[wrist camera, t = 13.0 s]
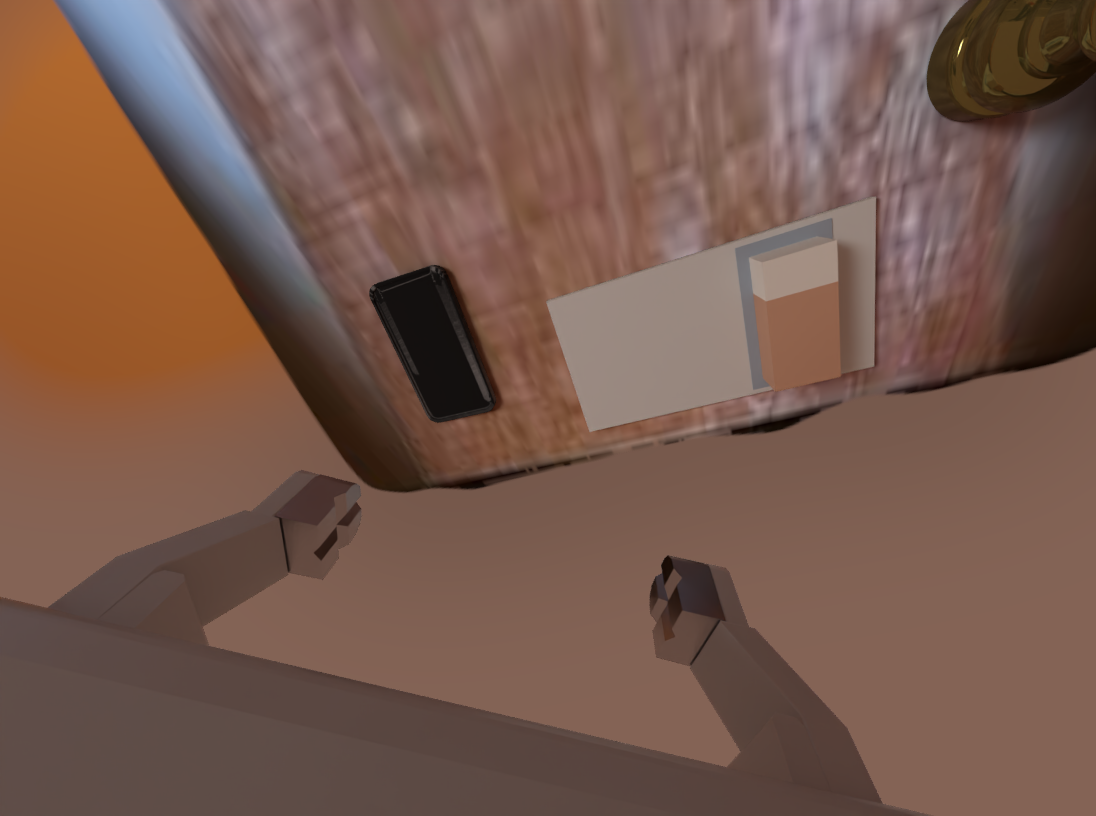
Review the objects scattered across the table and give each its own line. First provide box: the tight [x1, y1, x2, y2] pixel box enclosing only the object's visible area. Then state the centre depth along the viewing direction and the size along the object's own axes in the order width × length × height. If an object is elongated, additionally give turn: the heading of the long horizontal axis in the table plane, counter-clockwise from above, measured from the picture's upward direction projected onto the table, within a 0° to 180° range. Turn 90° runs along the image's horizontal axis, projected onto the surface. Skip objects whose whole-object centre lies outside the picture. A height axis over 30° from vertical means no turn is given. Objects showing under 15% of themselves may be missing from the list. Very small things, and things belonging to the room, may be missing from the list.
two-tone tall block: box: [749, 236, 841, 392], centre depth 33 cm, size 11×5×3 cm, turn 19°
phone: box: [369, 265, 496, 423], centre depth 40 cm, size 8×1×15 cm
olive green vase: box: [927, 0, 1096, 121], centre depth 22 cm, size 7×7×10 cm
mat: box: [546, 197, 876, 432], centre depth 36 cm, size 14×26×1 cm, turn 109°
